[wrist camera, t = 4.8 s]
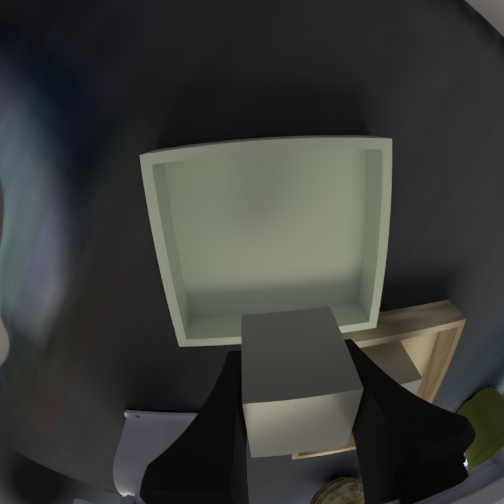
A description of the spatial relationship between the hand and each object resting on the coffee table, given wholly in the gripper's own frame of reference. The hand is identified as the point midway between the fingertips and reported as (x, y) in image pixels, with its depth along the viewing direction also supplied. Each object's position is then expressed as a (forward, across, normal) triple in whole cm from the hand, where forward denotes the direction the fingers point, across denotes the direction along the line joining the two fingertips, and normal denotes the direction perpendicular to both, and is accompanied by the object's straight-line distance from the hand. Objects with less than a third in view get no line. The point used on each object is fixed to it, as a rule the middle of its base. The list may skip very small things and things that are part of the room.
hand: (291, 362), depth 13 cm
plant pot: (+9, -28, +24) cm, 38 cm away
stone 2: (+8, -8, +9) cm, 14 cm away
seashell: (+9, -8, +38) cm, 40 cm away
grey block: (+2, 0, 0) cm, 2 cm away
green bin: (+8, 0, -3) cm, 9 cm away
